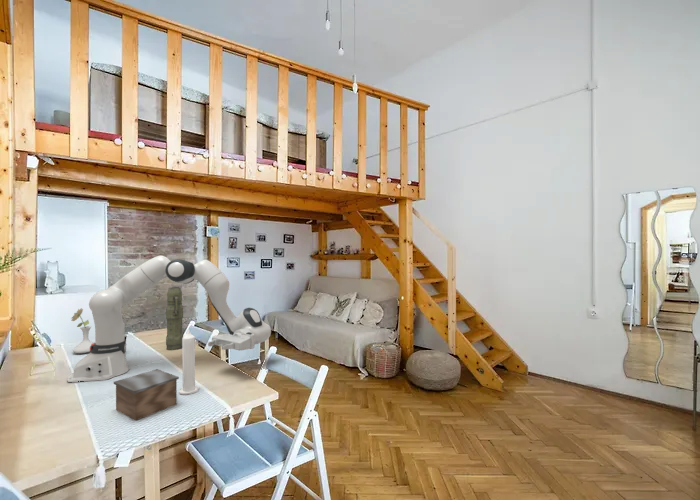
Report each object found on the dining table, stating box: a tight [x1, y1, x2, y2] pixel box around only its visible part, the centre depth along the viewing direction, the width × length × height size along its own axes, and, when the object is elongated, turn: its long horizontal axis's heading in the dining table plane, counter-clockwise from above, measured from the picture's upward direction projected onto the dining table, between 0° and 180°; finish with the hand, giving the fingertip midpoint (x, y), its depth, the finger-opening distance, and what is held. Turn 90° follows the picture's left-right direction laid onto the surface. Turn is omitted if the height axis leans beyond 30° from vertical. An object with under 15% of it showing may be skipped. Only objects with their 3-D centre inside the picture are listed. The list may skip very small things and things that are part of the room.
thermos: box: [165, 286, 184, 351], centre depth 195 cm, size 9×12×35 cm
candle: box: [178, 328, 199, 396], centre depth 135 cm, size 7×7×25 cm
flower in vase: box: [70, 308, 94, 354], centre depth 187 cm, size 13×11×25 cm
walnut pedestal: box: [113, 368, 180, 421], centre depth 122 cm, size 15×15×10 cm
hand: (215, 346), depth 145 cm, fingers open, 8 cm apart
